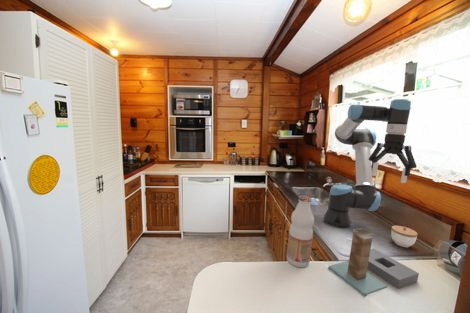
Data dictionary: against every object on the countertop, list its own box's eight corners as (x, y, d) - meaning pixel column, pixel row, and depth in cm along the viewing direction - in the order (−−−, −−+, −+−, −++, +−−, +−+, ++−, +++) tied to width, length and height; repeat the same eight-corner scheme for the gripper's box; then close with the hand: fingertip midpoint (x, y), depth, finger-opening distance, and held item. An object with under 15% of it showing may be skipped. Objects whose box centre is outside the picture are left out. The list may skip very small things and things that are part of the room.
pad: (328, 268, 92) (328, 266, 92) (349, 262, 97) (349, 260, 97) (364, 296, 77) (364, 293, 77) (386, 288, 82) (387, 285, 82)
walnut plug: (346, 272, 88) (353, 229, 86) (355, 270, 90) (361, 227, 88) (357, 280, 84) (364, 235, 81) (366, 278, 86) (373, 233, 83)
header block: (354, 261, 98) (355, 252, 97) (372, 256, 103) (373, 248, 102) (397, 290, 82) (399, 280, 81) (416, 282, 87) (418, 273, 86)
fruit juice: (283, 262, 94) (290, 197, 90) (289, 252, 102) (296, 192, 98) (306, 271, 89) (315, 203, 85) (311, 259, 97) (319, 196, 93)
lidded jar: (419, 251, 110) (423, 233, 109) (395, 247, 112) (398, 230, 111) (407, 240, 121) (410, 224, 119) (385, 237, 123) (388, 221, 121)
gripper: (364, 131, 113) (358, 173, 116) (421, 135, 91) (412, 186, 94) (374, 132, 116) (368, 172, 119) (432, 136, 94) (422, 185, 97)
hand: (387, 179), depth 107 cm, fingers open, 13 cm apart
